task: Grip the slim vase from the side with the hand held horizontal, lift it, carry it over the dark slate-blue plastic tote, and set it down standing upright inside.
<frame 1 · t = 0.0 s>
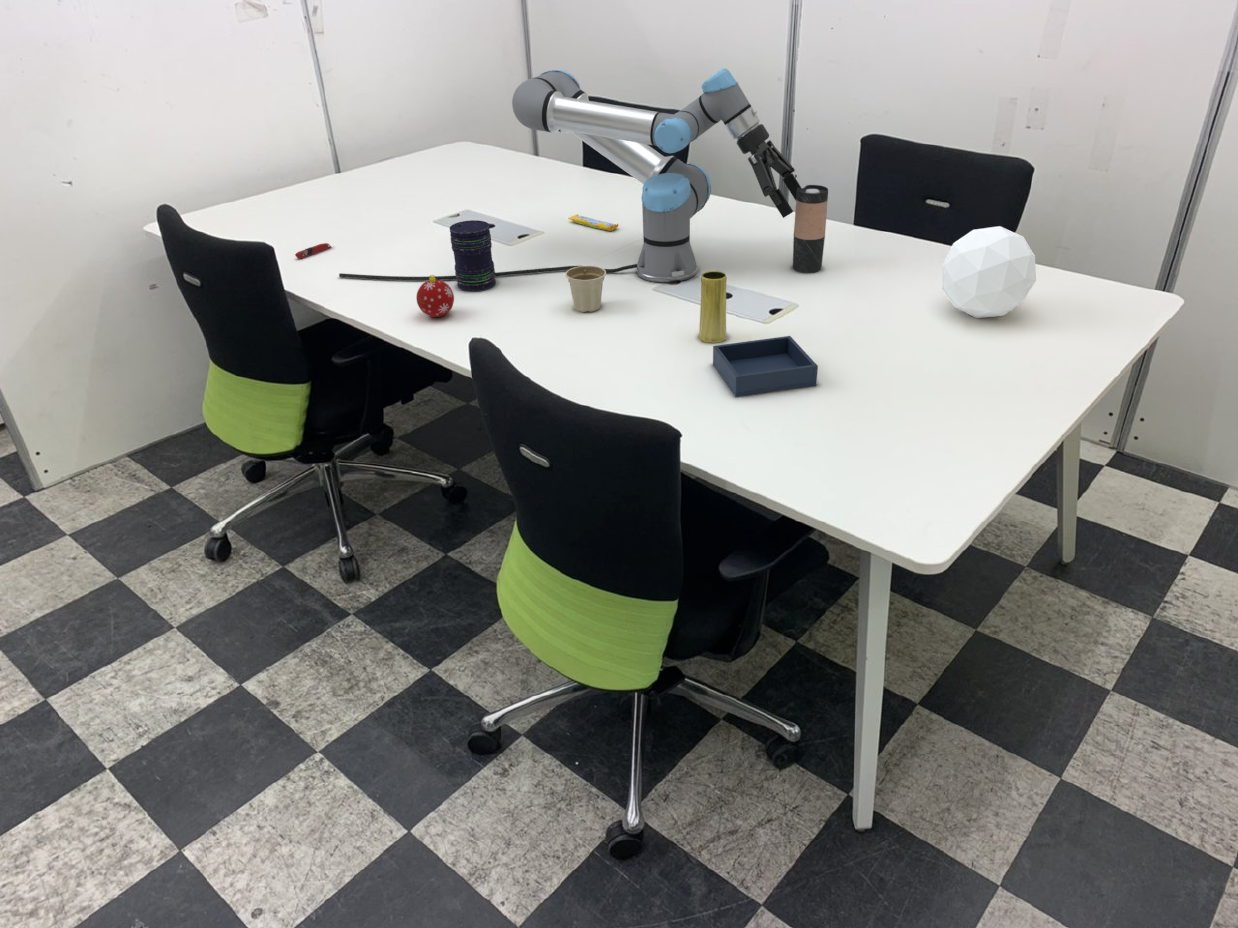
hand: (795, 206, 229), 15 cm above the table, tool tilted 35°, fingers open, 13 cm apart
travel mug: (806, 268, 236), on the table
utility knife: (314, 254, 259), on the table
tote: (763, 375, 187), on the table
vase: (712, 338, 203), on the table
candy bar: (594, 226, 271), on the table
flower pot: (587, 308, 220), on the table
christmas ornament: (438, 316, 219), on the table
geometric polyhedron: (980, 313, 209), on the table
storage jar: (476, 285, 235), on the table
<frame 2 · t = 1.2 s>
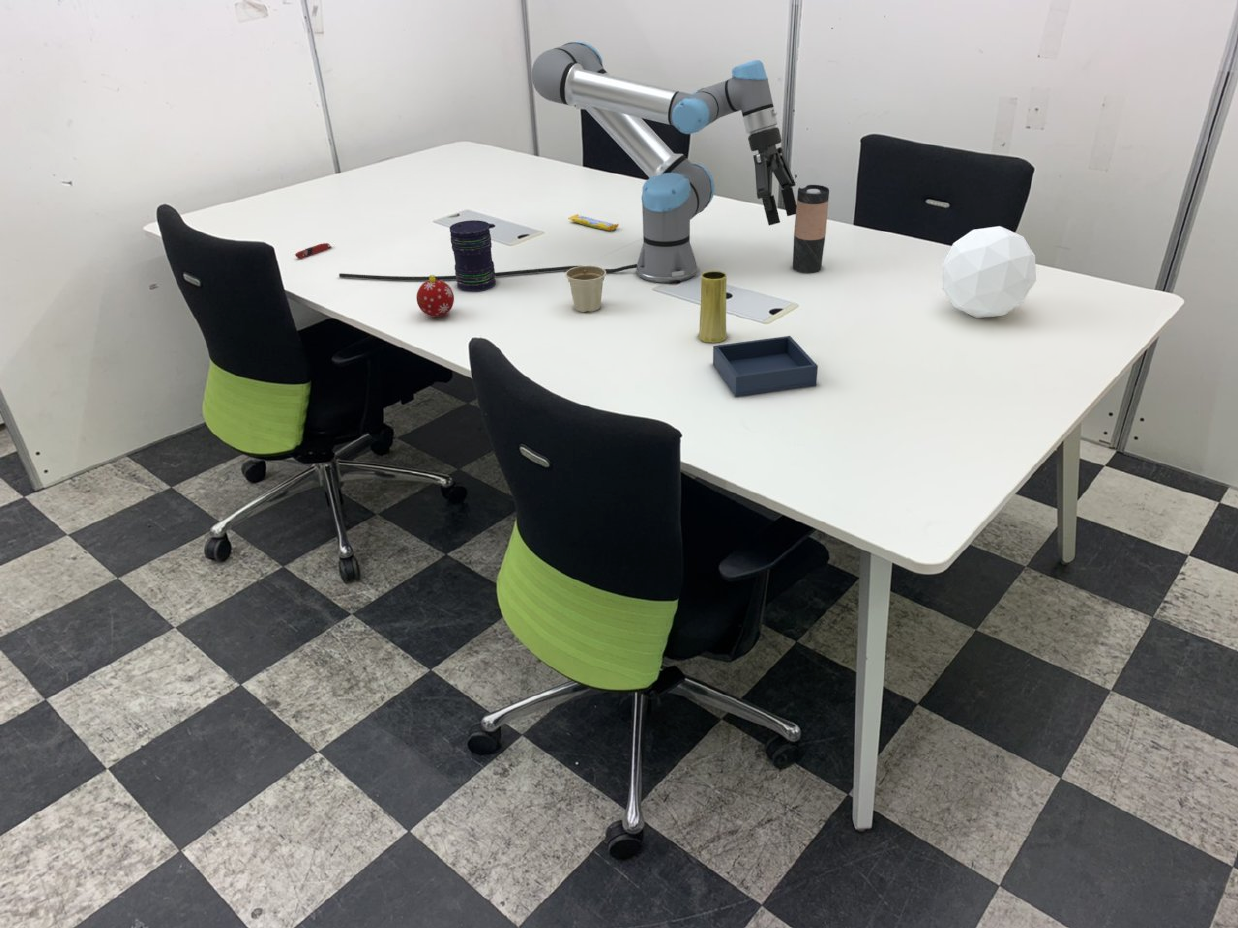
hand: (783, 219, 226), 14 cm above the table, tool tilted 20°, fingers open, 13 cm apart
travel mug: (806, 268, 236), on the table, touching gripper
everything else where it was.
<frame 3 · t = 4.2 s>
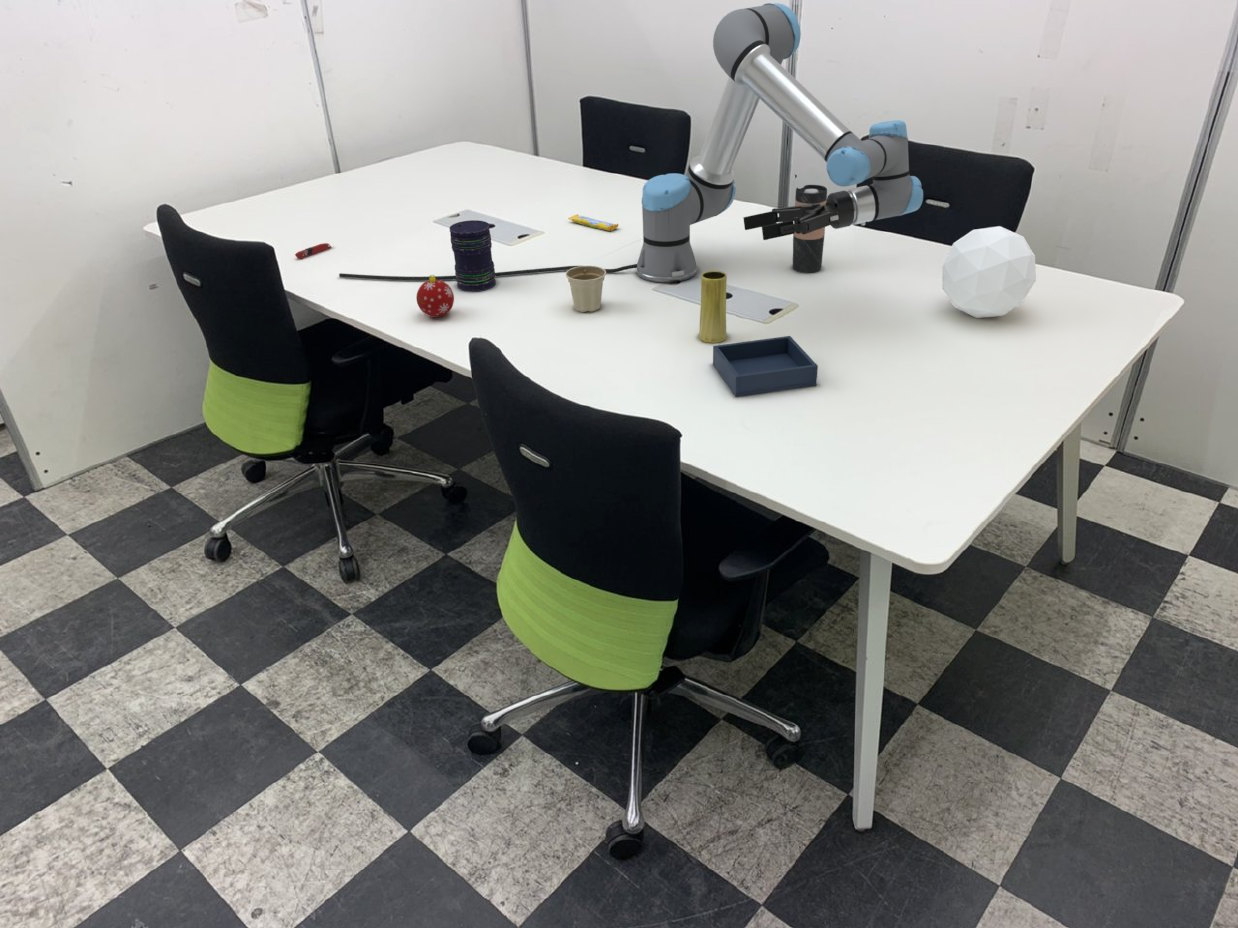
hand: (753, 228, 197), 22 cm above the table, tool horizontal, fingers open, 13 cm apart
travel mug: (806, 268, 236), on the table
everything else where it was.
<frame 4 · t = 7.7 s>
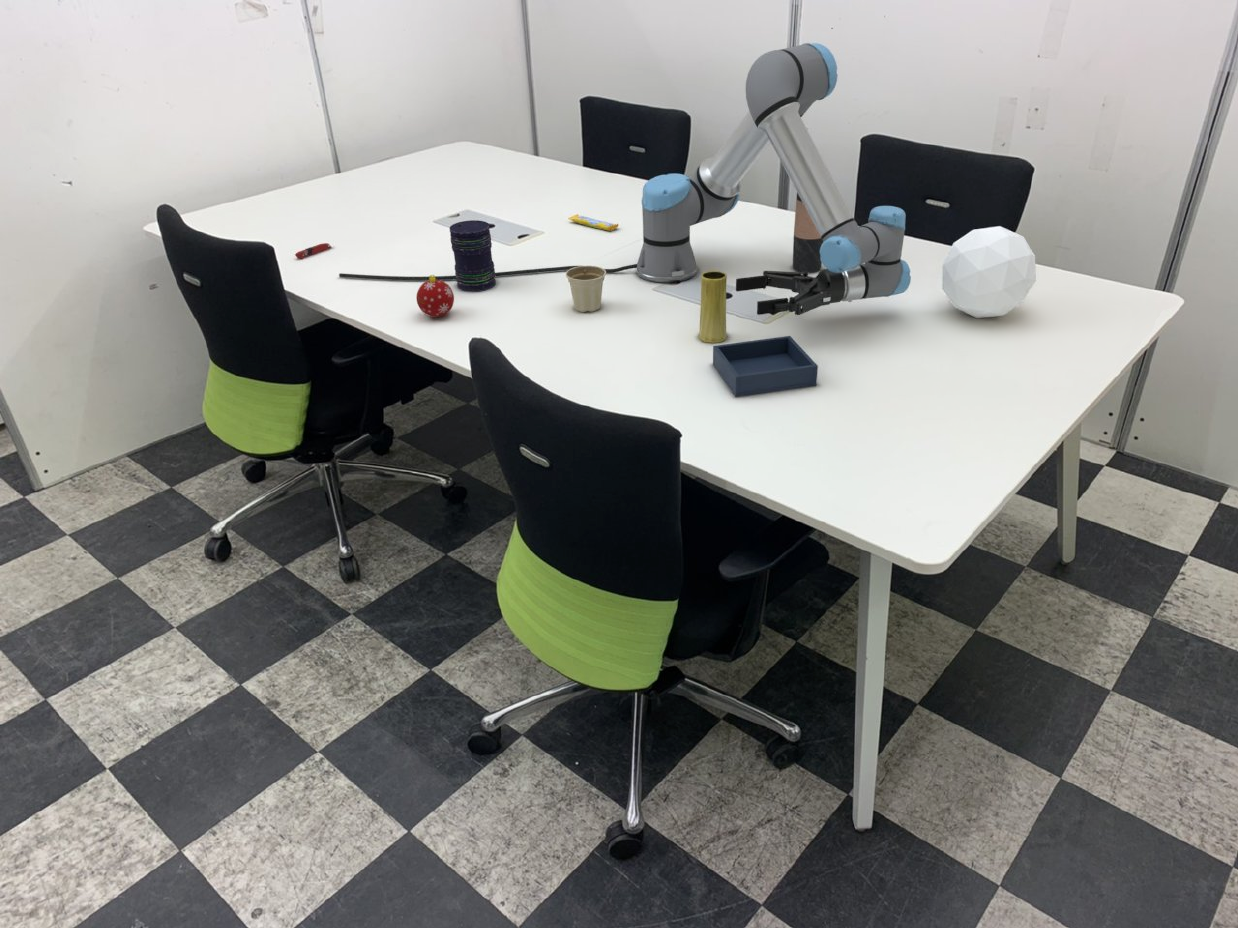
hand: (746, 296, 200), 9 cm above the table, tool horizontal, fingers open, 13 cm apart
nothing on the table moved.
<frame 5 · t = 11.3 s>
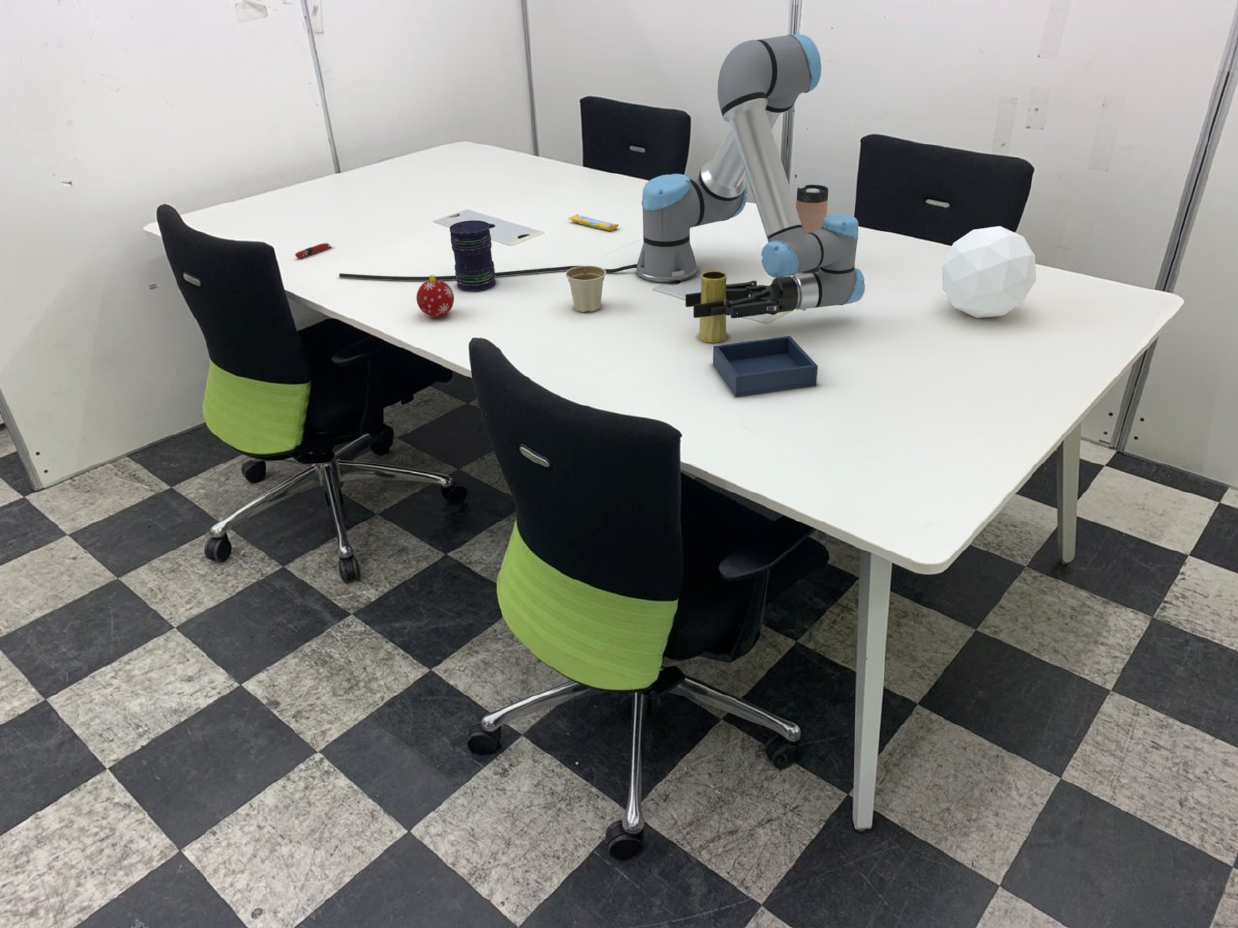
hand: (690, 306, 198), 8 cm above the table, tool horizontal, fingers closed on vase, 5 cm apart
vase: (712, 338, 203), on the table, touching gripper
everything else where it was.
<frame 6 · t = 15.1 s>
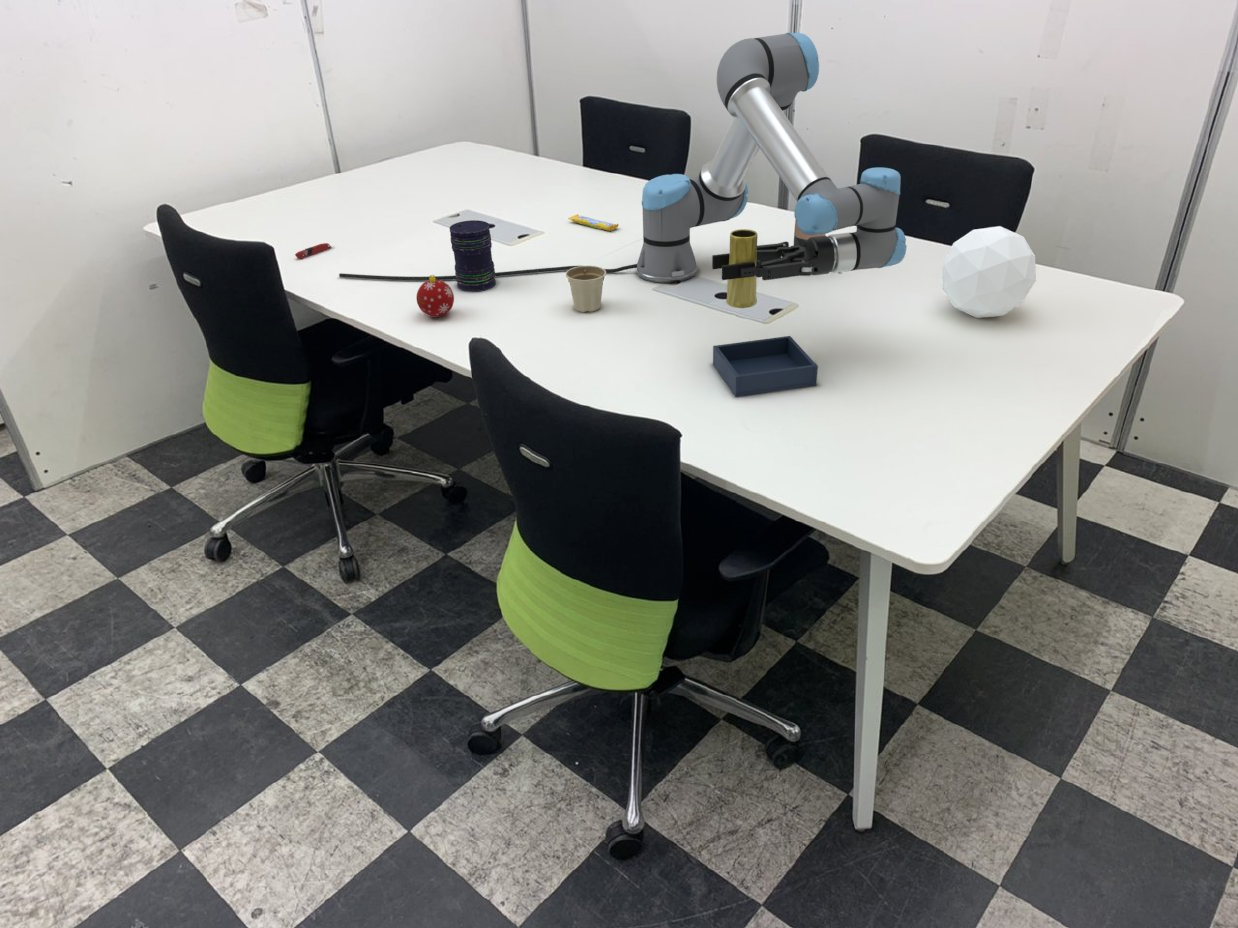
hand: (717, 267, 183), 20 cm above the table, tool horizontal, fingers closed on vase, 5 cm apart
vase: (741, 303, 188), point 12 cm above the table, touching gripper
everything else where it was.
when the fingers open (9 cm above the table, at t = 19.8 s): vase stays where it is, resting on tote.
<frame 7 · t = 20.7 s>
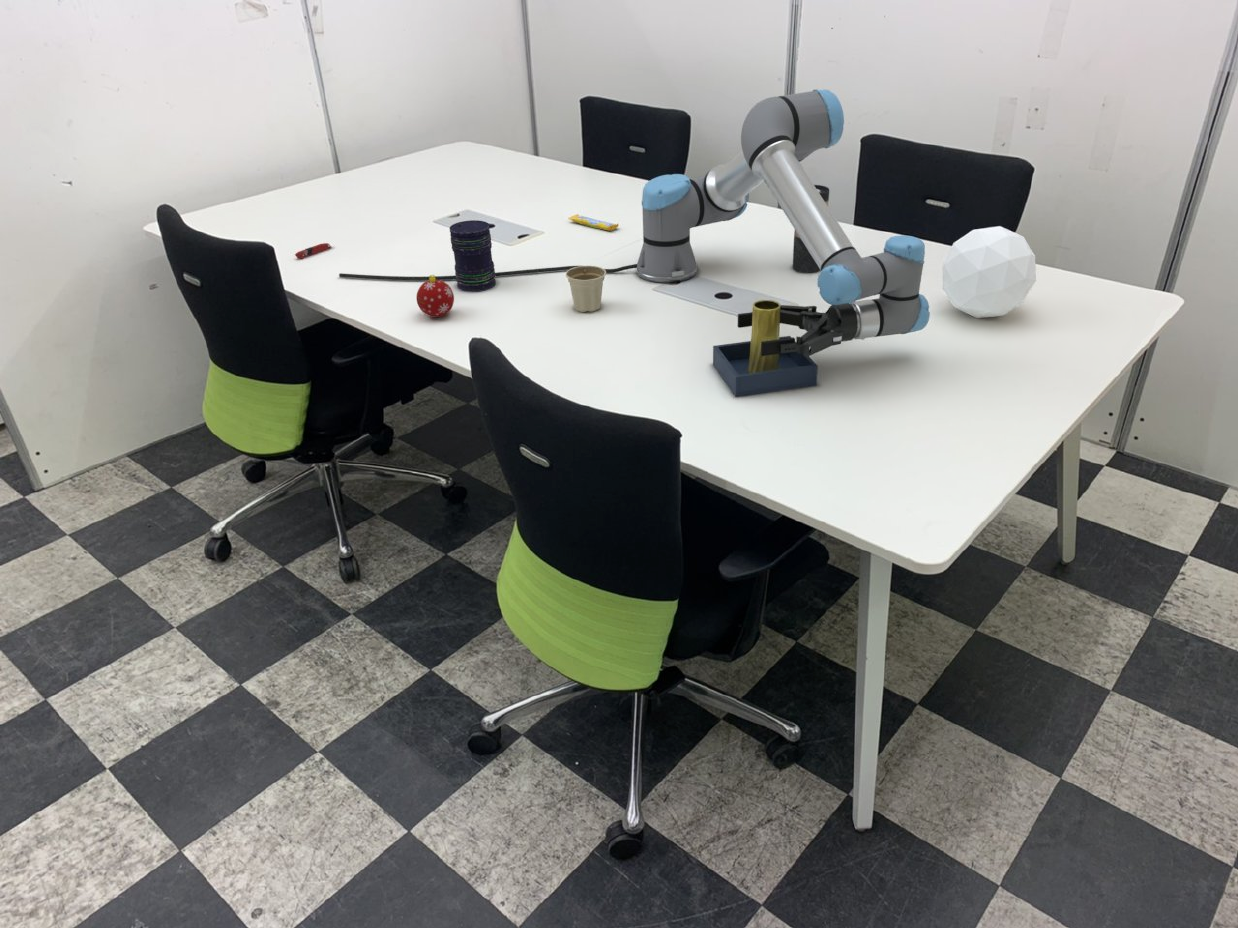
hand: (749, 334, 182), 9 cm above the table, tool horizontal, fingers open, 13 cm apart
vase: (763, 372, 187), point 1 cm above the table, touching tote
everything else where it was.
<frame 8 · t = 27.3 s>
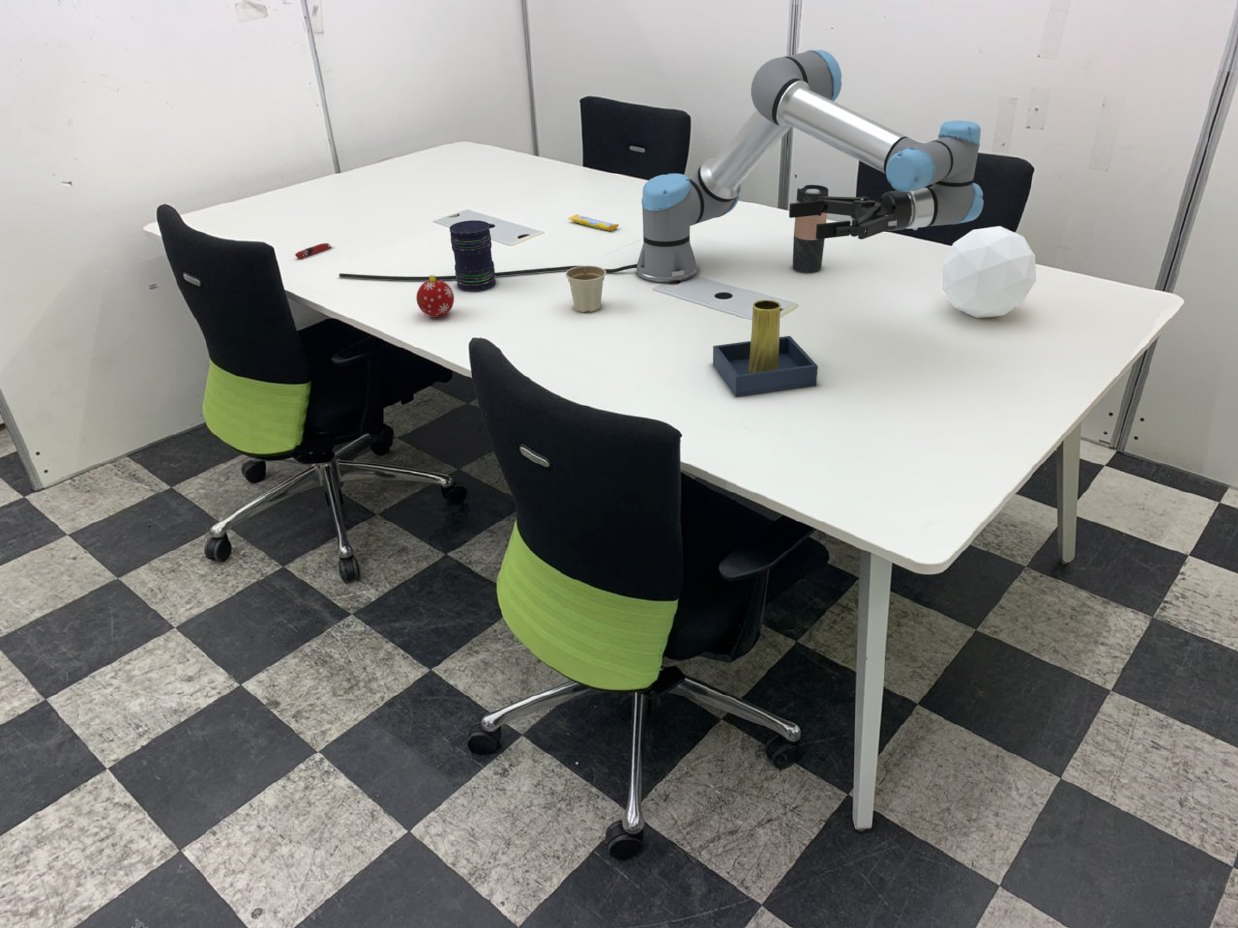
hand: (802, 221, 180), 28 cm above the table, tool horizontal, fingers open, 13 cm apart
nothing on the table moved.
at the end: vase inside the target area in the tote (0.0 cm from its centre), point 0.6 cm above the tote's base; vase tilted 0°; the gripper is holding nothing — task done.
